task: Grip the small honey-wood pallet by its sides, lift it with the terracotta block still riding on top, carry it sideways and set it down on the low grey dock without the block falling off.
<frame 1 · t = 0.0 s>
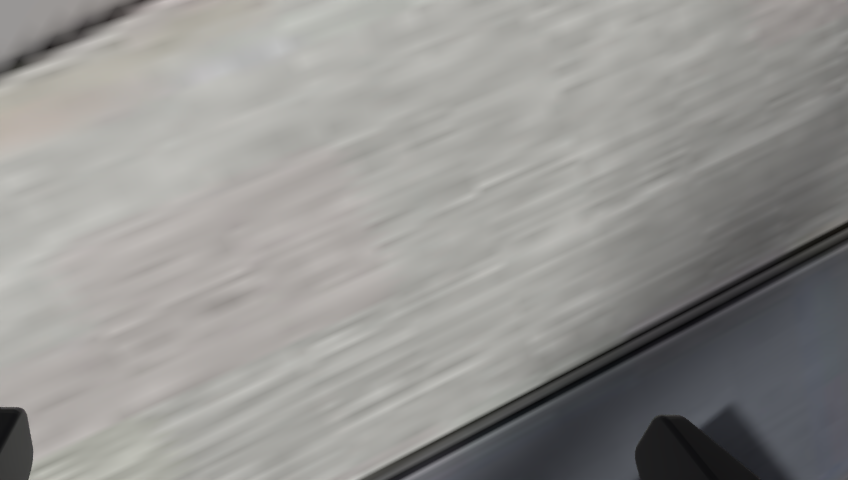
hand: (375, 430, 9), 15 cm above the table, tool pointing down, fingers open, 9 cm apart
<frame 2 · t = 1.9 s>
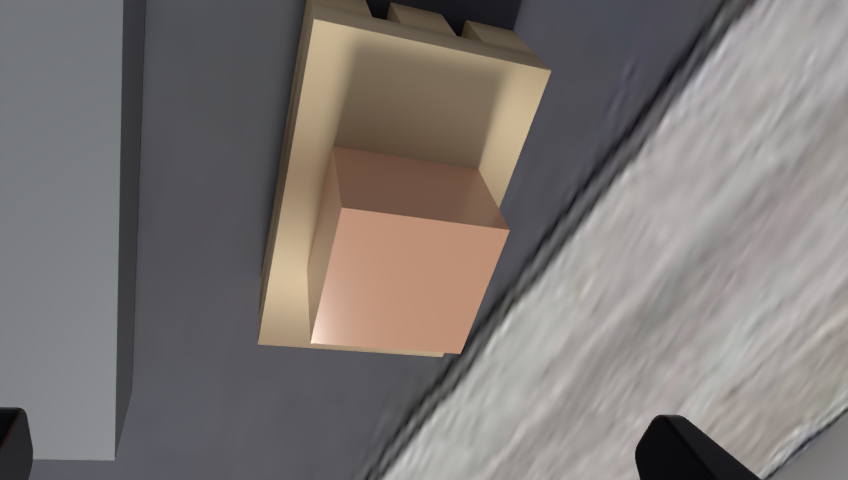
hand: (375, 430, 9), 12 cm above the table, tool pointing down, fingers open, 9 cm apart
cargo: (390, 221, 18), point 3 cm above the table, touching pallet
pallet: (375, 161, 21), on the table, touching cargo
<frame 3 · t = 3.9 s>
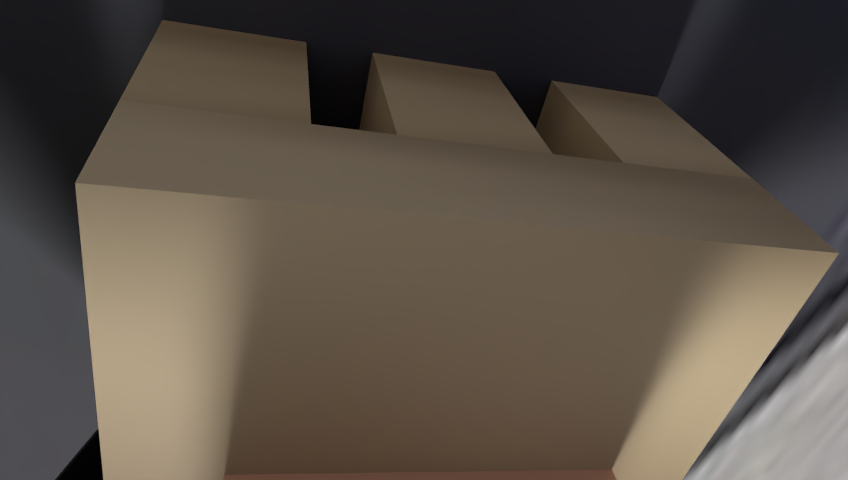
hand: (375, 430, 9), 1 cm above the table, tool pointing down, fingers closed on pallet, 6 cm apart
pallet: (365, 361, 10), on the table, touching gripper
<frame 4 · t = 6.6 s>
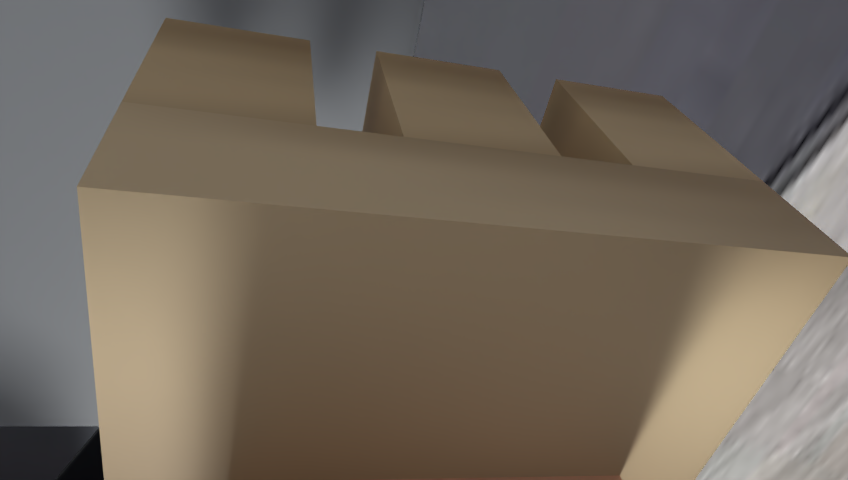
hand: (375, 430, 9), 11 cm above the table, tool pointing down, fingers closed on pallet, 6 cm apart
dock: (158, 123, 18), on the table
pallet: (368, 365, 10), point 10 cm above the table, touching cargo, gripper
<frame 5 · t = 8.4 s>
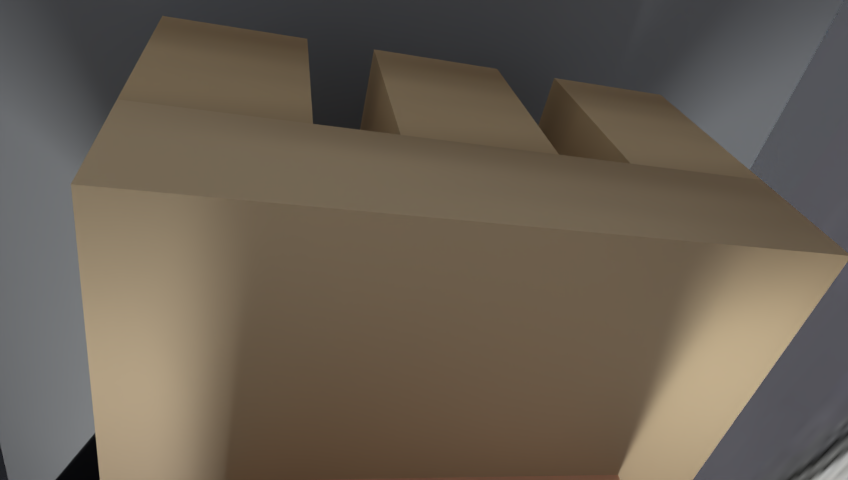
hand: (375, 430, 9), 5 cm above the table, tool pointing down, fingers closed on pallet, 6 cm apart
dock: (342, 255, 14), on the table
pallet: (367, 364, 10), point 4 cm above the table, touching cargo, gripper
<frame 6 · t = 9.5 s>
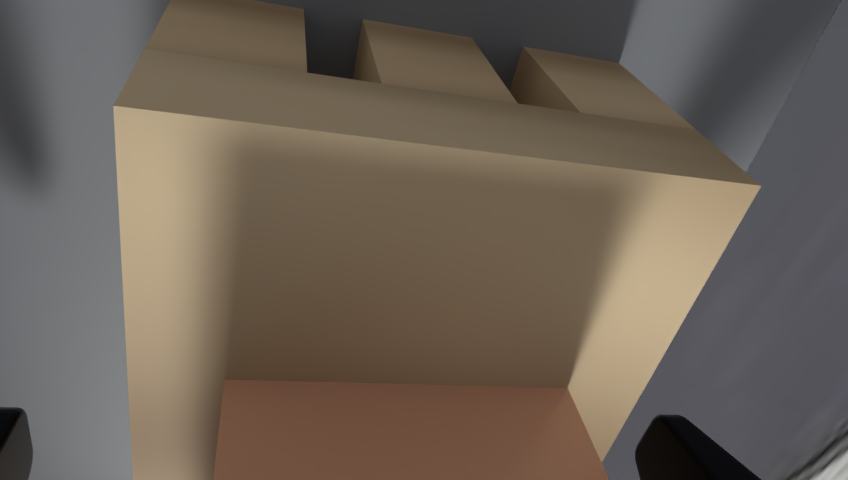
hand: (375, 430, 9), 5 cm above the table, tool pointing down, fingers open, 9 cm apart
dock: (341, 256, 14), on the table
pallet: (358, 313, 11), point 3 cm above the table, touching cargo, dock
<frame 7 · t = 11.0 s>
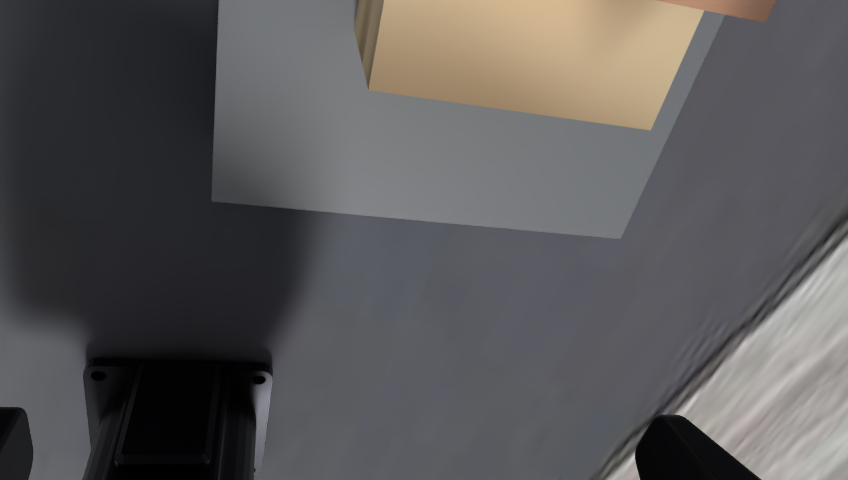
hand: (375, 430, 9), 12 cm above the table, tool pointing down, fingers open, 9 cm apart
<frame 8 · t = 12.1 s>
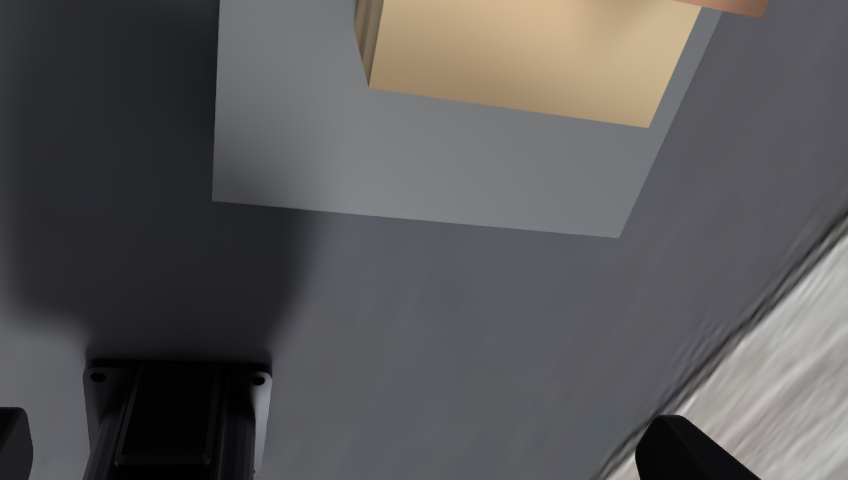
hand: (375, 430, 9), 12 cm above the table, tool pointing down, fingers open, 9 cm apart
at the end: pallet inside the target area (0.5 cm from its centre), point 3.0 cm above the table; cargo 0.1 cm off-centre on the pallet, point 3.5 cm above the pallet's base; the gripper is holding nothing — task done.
